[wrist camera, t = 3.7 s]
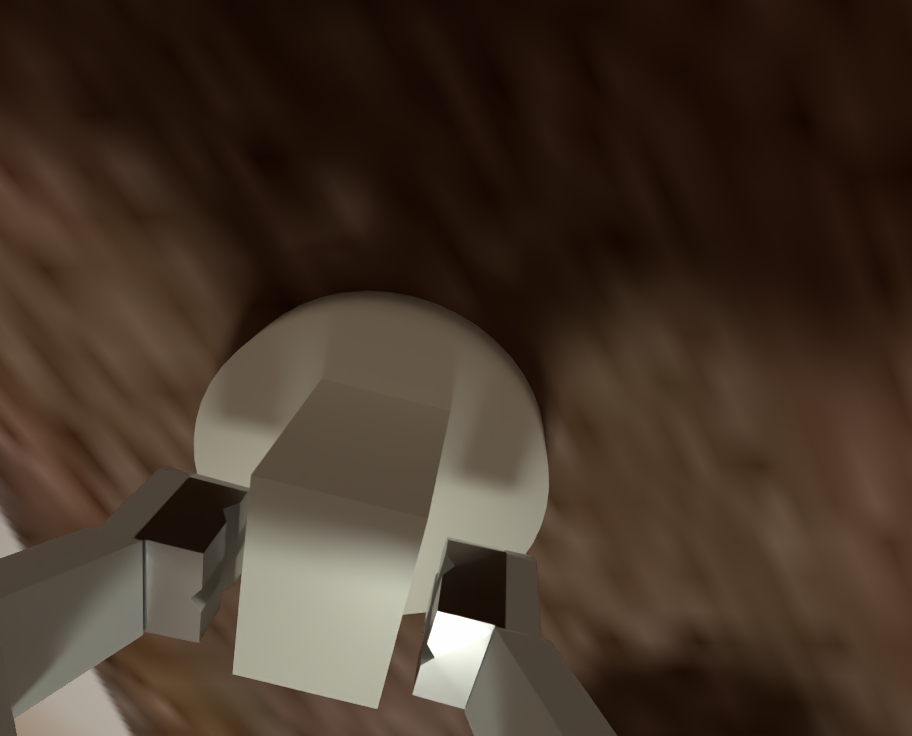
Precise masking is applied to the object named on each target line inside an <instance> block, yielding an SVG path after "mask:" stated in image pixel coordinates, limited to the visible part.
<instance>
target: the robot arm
mask: <svg viewBox="0 0 912 736" xmlns="http://www.w3.org/2000/svg"><path fill="white" fill-rule="evenodd" d="M249 491H250V488H248V487H244V486H240V485H237V484H233V483H229V482H226V481H222V480H218V479H215V478H211V477H207V476H204V475H200V474H193V473H190V472H187V471H183V470H179V469H176V468H172V467H168V466H166V467H164V468H161V469H159V470H157V471H156V472H155V473H154V474H153V475H152V476H151V477H150V478H149V479H148V480H147V481H146V482H145V483H144V484H143V485H142V486H141V487H140V488H139V489H138V490H137V491H136V492H135V493H134V494H132V495H131V496H130V497H129V498H128V499H127V500H126V501H125V502H124V503H123V504H122V505H121V506H120V507H119V508H118V509H117V510H116V511H115V512H114V513H113V514H112V515H111V516H110V517H109V518H108V519H107V520H106V521H105V522H104V523H103V524H102V525H101V526H100V527H99V528H98V529H93V528H89V527H86V528H84V529H81V530H78V531H75V532H72V533H70V534H67V535H64V536H61V537H59V538H56V539H53V540H50V541H48V542H45V543H42V544H39V545H36V546H34V547H31V548H28V549H25V550H23V551H20V552H17V553H14V554H12V555H9V556H6V557H3V558H0V736H17V734H16V728H15V723H14V718H15V717H17V716H18V715H20V714H22V713H23V712H25V711H26V710H28V709H29V708H31V707H32V706H34V705H35V704H37V703H38V702H40V701H42V700H43V699H45V698H46V697H48V696H49V695H51V694H52V693H54V692H56V691H57V690H59V689H60V688H62V687H63V686H65V685H66V684H68V683H69V682H71V681H72V680H74V679H76V678H77V677H79V676H80V675H82V674H83V673H85V672H86V671H88V670H89V669H91V668H93V667H94V666H96V665H97V664H99V663H100V662H102V661H103V660H105V659H106V658H108V657H109V656H111V655H113V654H114V653H116V652H117V651H119V650H120V649H122V648H123V647H125V646H126V645H128V644H129V643H131V642H133V641H134V640H136V639H137V638H139V637H140V636H142V635H143V631H145V632H150V633H154V634H159V635H164V636H169V637H173V638H178V639H183V640H188V641H192V642H197V643H199V642H200V641H201V639H202V637H203V636H204V634H205V632H206V631H207V629H208V627H209V626H210V624H211V622H212V621H213V619H214V618H215V616H216V614H217V613H218V611H219V609H220V607H221V595H222V592H223V591H225V590H227V589H229V588H230V587H232V586H234V584H235V582H236V581H237V579H238V577H239V576H240V574H241V572H242V567H243V556H244V545H245V534H246V523H247V512H248V502H249ZM423 633H424V639H423V642H422V646H421V649H420V653H419V657H418V663H417V669H416V675H415V681H414V687H413V694H412V695H415V696H419V697H422V698H426V699H430V700H433V701H437V702H441V703H444V704H448V705H452V706H455V707H459V708H463V709H465V714H466V717H467V719H468V722H469V724H470V727H471V729H472V732H473V734H474V736H617V735H616V733H615V732H614V730H613V729H612V728H611V726H610V725H609V723H608V722H607V720H606V719H605V718H604V716H603V715H602V713H601V712H600V710H599V709H598V708H597V706H596V705H595V703H594V702H593V700H592V699H591V697H590V696H589V695H588V693H587V692H586V690H585V689H584V687H583V686H582V685H581V683H580V682H579V680H578V679H577V677H576V676H575V675H574V673H573V672H572V670H571V669H570V667H569V666H568V665H567V663H566V662H565V660H564V659H563V657H562V656H561V655H560V653H559V652H558V650H557V649H556V647H555V646H554V645H553V643H552V642H551V641H550V640H547V639H543V638H541V622H540V607H539V592H538V576H537V561H536V559H535V558H534V556H530V555H525V554H521V553H517V552H512V551H508V550H505V551H504V550H501V549H497V548H492V547H488V546H484V545H480V544H476V543H471V542H467V541H463V540H459V539H455V538H450V537H447V539H446V542H445V545H444V548H443V551H442V555H441V560H440V566H439V572H438V573H437V574H436V576H435V579H434V583H433V587H432V591H431V595H430V599H429V603H428V607H427V612H426V617H425V623H424V628H423Z"/></svg>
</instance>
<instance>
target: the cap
mask: <svg viewBox="0 0 912 736" xmlns="http://www.w3.org/2000/svg"><path fill="white" fill-rule="evenodd" d="M194 457H195V464H196V470H197V474H200V475H204V476H207V477H211V478H215V479H218V480H222V481H226V482H229V483H233V484H237V485H240V486H244V487H248V488H250V491H249V502H248V512H247V523H246V534H245V545H244V556H243V567H242V578H241V589H240V599H239V610H238V621H237V632H236V643H235V654H234V665H233V674H235V675H239V676H243V677H247V678H251V679H255V680H259V681H264V682H268V683H272V684H276V685H280V686H284V687H288V688H293V689H297V690H301V691H305V692H309V693H313V694H317V695H322V696H326V697H330V698H334V699H338V700H342V701H346V702H351V703H355V704H359V705H363V706H367V707H371V708H375V709H377V708H378V704H379V701H380V697H381V693H382V690H383V686H384V682H385V678H386V675H387V671H388V667H389V663H390V660H391V656H392V652H393V648H394V645H395V641H396V637H397V633H398V630H399V626H400V622H401V618H402V615H403V614H413V613H423V612H427V607H428V603H429V599H430V595H431V591H432V587H433V583H434V579H435V576H436V574H437V573H438V572H439V566H440V560H441V555H442V551H443V548H444V545H445V542H446V539H447V537H450V538H455V539H459V540H463V541H467V542H471V543H476V544H480V545H484V546H488V547H492V548H497V549H501V550H504V551H505V550H508V551H512V552H517V553H521V554H526V552H527V551H528V549H529V548H530V547H531V545H532V544H533V542H534V540H535V538H536V535H537V533H538V531H539V529H540V527H541V524H542V521H543V518H544V514H545V511H546V507H547V499H548V491H549V477H548V462H547V453H546V444H545V435H544V428H543V423H542V418H541V413H540V410H539V407H538V404H537V401H536V398H535V395H534V393H533V391H532V389H531V387H530V385H529V383H528V381H527V379H526V378H525V376H524V374H523V373H522V371H521V370H520V368H519V367H518V366H517V364H516V363H515V361H514V360H513V359H512V357H511V356H510V355H509V354H508V353H507V352H506V351H505V350H504V349H503V348H502V347H501V346H500V344H499V343H498V342H497V341H496V340H494V339H493V338H492V337H491V336H490V335H488V334H487V333H486V332H485V331H483V330H482V329H481V328H480V327H479V326H477V325H476V324H474V323H472V322H471V321H469V320H468V319H466V318H464V317H463V316H461V315H460V314H458V313H456V312H454V311H451V310H449V309H447V308H445V307H443V306H441V305H438V304H436V303H433V302H430V301H427V300H424V299H420V298H417V297H414V296H409V295H404V294H398V293H393V292H382V291H355V292H343V293H338V294H333V295H329V296H324V297H320V298H317V299H315V300H312V301H309V302H306V303H304V304H301V305H299V306H297V307H295V308H293V309H292V310H290V311H288V312H286V313H284V314H282V315H281V316H280V317H278V318H277V319H276V320H274V321H273V322H272V323H270V324H269V325H268V326H266V327H265V328H264V329H263V330H262V331H260V332H259V333H258V334H257V335H256V336H254V337H253V338H252V339H251V340H250V341H248V342H247V343H246V344H245V345H244V346H242V347H241V348H240V349H239V350H238V351H237V352H236V353H235V354H234V355H233V356H232V357H231V358H230V359H229V360H228V361H227V362H226V363H225V364H224V365H223V366H222V367H221V369H220V370H219V371H218V373H217V374H216V376H215V377H214V379H213V380H212V381H211V383H210V385H209V387H208V389H207V391H206V393H205V395H204V397H203V399H202V402H201V405H200V409H199V412H198V416H197V419H196V426H195V434H194Z"/></svg>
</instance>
